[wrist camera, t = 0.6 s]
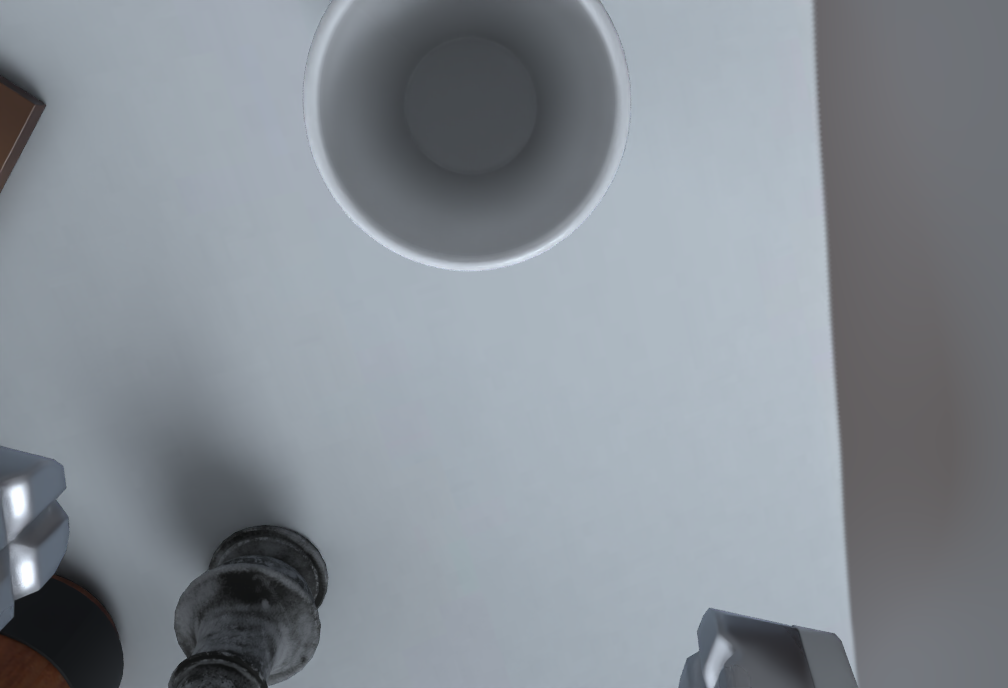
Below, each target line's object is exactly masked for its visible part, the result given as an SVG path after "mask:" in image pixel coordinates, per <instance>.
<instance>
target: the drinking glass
mask: <svg viewBox="0 0 1008 688" xmlns="http://www.w3.org/2000/svg"><path fill="white" fill-rule="evenodd" d="M303 113H304V122H305V128H306V134H307V139H308V142H309V146H310V150H311V153H312V156H313V158H314V161H315V164H316V167H317V169H318V171H319V173H320V175H321V177H322V179H323V181H324V183H325V185H326V187H327V188H328V190H329V192H330V193H331V195H332V197H333V198H334V199H335V201H336V202H337V203H338V205H339V206H340V207H341V209H342V210H343V211H344V212H345V213H346V215H347V216H348V217H349V218H350V219H351V220H352V221H353V222H354V223H355V224H356V225H357V226H358V227H359V228H360V229H361V230H362V231H363V232H365V233H366V234H367V235H368V236H370V237H371V238H372V239H374V240H375V241H376V242H378V243H379V244H381V245H382V246H384V247H386V248H387V249H389V250H390V251H392V252H394V253H396V254H398V255H400V256H402V257H404V258H407V259H409V260H412V261H415V262H417V263H420V264H424V265H427V266H431V267H435V268H440V269H446V270H455V271H484V270H493V269H498V268H503V267H508V266H511V265H514V264H518V263H521V262H524V261H526V260H529V259H531V258H533V257H536V256H538V255H540V254H542V253H543V252H545V251H547V250H549V249H551V248H552V247H554V246H555V245H557V244H558V243H560V242H561V241H563V240H564V239H565V238H567V237H568V236H569V235H570V234H571V233H573V232H574V231H575V230H576V229H577V228H578V227H579V226H580V225H581V224H582V223H583V222H584V221H585V220H586V219H587V218H588V217H589V216H590V214H591V213H592V212H593V211H594V210H595V208H596V207H597V206H598V204H599V203H600V201H601V200H602V198H603V197H604V196H605V194H606V192H607V190H608V189H609V187H610V185H611V183H612V182H613V179H614V177H615V175H616V173H617V170H618V168H619V166H620V163H621V160H622V157H623V154H624V151H625V147H626V143H627V138H628V134H629V126H630V119H631V85H630V78H629V71H628V66H627V62H626V57H625V53H624V50H623V47H622V44H621V41H620V38H619V35H618V33H617V31H616V29H615V27H614V25H613V22H612V20H611V18H610V17H609V15H608V13H607V11H606V10H605V8H604V6H603V5H602V3H601V2H600V1H599V0H332V1H331V3H330V4H329V6H328V7H327V9H326V11H325V13H324V15H323V16H322V18H321V20H320V22H319V25H318V27H317V29H316V32H315V34H314V37H313V40H312V43H311V46H310V49H309V52H308V57H307V62H306V66H305V73H304V81H303Z"/></svg>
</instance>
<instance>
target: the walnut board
mask: <svg viewBox="0 0 1008 688" xmlns="http://www.w3.org/2000/svg"><path fill="white" fill-rule="evenodd" d="M45 107H46V104H44V103H43V102H41V101H40V100H38V99H36V98H35V97H33V96H32V95H30V94H29V93H27V92H26V91H24V90H22V89H21V88H19V87H18V86H16V85H15V84H13V83H12V82H10V81H8V80H7V79H5V78H4V77H2V76H1V75H0V193H1V191H2V189H3V187H4V185H5V183H6V181H7V179H8V177H9V175H10V173H11V172H12V170H13V168H14V166H15V164H16V162H17V160H18V158H19V156H20V154H21V152H22V150H23V149H24V147H25V145H26V143H27V141H28V139H29V137H30V135H31V133H32V131H33V129H34V128H35V126H36V124H37V122H38V120H39V118H40V116H41V114H42V112H43V110H44V108H45Z"/></svg>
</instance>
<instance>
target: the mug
mask: <svg viewBox="0 0 1008 688" xmlns="http://www.w3.org/2000/svg"><path fill="white" fill-rule="evenodd" d="M123 666H124V662H123V652H122V647H121V643H120V640H119V636H118V632H117V629H116V627H115V624H114V622H113V620H112V618H111V617H110V615H109V613H108V612H107V611H106V609H105V608H104V606H103V605H102V604H101V603H100V602H99V601H98V600H97V599H96V598H95V597H94V596H93V595H91V594H90V593H89V592H88V591H86V590H85V589H83V588H82V587H80V586H79V585H77V584H75V583H73V582H72V581H70V580H68V579H65V578H63V577H60V576H58V575H53V576H52V577H51V578H50V579H49V580H48V581H47V582H46V583H45V584H44V585H43V587H42V588H41V589H40V590H39V591H36V592H34V593H31V594H29V595H27V596H24V597H22V598H19V599H17V600H15V601H14V617H13V618H12V619H11V620H10V621H9V622H8V623H7V624H6V626H5V627H4V628H3V629H2V630H1V631H0V688H119V686H120V682H121V679H122V675H123Z"/></svg>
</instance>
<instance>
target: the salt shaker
mask: <svg viewBox="0 0 1008 688" xmlns="http://www.w3.org/2000/svg"><path fill="white" fill-rule="evenodd" d="M327 585H328V574H327V569H326V564H325V562H324V560H323V559H322V557H321V555H320V553H319V551H318V550H317V549H316V548H315V547H314V546H313V545H312V544H311V543H310V542H309V541H308V540H307V539H305V538H303V537H302V536H300V535H299V534H297V533H296V532H293V531H290V530H287V529H284V528H282V527H274V526H257V527H249V528H246V529H244V530H241V531H238V532H236V533H234V534H233V535H231V536H230V537H229V538H227V539H226V540H224V541H223V543H222V544H221V545H220V546H219V548H218V549H217V550H216V551H215V553H214V555H213V558H212V561H211V563H210V566H209V571H206V572H205V573H203V574H202V575H201V576H199V577H198V578H196V579H195V580H194V581H192V582H191V583H190V585H189V586H188V587H187V589H186V590H185V591H184V592H183V594H182V595H181V597H180V599H179V602H178V605H177V607H176V610H175V622H174V629H175V632H176V636H177V640H178V643H179V645H180V647H181V648H182V650H183V652H184V653H185V655H186V657H187V659H185V660H184V661H182V662H181V663H180V664H179V665H178V666H177V668H176V669H175V670H174V671H173V673H172V675H171V678H170V681H169V683H168V688H268V686H269V685H273V684H276V683H279V682H281V681H284V680H287V679H289V678H290V677H292V676H293V675H295V674H296V673H298V672H299V671H301V670H302V669H303V668H304V667H305V665H306V664H307V663H308V662H309V661H310V660H311V658H312V657H313V655H314V652H315V650H316V648H317V646H318V643H319V638H320V628H321V624H320V619H319V615H318V610H317V609H318V608H319V606H320V605H321V604H322V601H323V599H324V597H325V594H326V592H327Z"/></svg>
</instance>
